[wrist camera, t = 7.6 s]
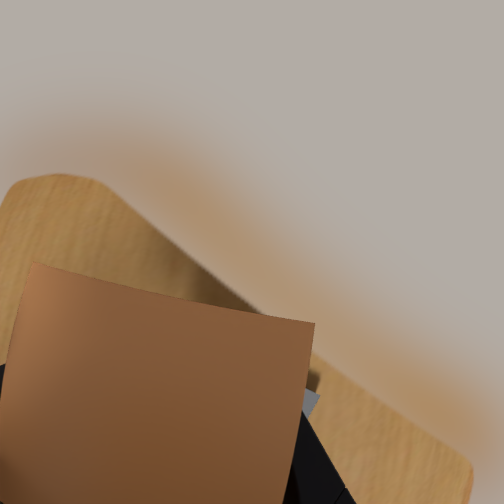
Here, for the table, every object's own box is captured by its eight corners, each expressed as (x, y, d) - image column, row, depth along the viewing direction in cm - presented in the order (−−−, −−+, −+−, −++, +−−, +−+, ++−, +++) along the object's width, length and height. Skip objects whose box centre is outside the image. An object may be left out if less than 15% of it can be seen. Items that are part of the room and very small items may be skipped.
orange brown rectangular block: (244, 475, 13) (256, 592, 3) (121, 445, 13) (-3, 499, 4) (266, 357, 15) (314, 323, 6) (143, 331, 15) (33, 261, 6)
